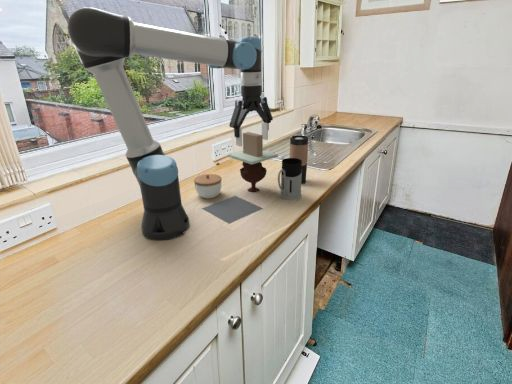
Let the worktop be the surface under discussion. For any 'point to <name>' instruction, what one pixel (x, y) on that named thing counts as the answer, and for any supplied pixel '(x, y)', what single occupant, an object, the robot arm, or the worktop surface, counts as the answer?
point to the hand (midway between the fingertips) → (252, 142)
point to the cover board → (251, 158)
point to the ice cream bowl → (253, 174)
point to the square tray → (232, 209)
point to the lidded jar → (208, 185)
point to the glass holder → (290, 179)
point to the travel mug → (300, 152)
